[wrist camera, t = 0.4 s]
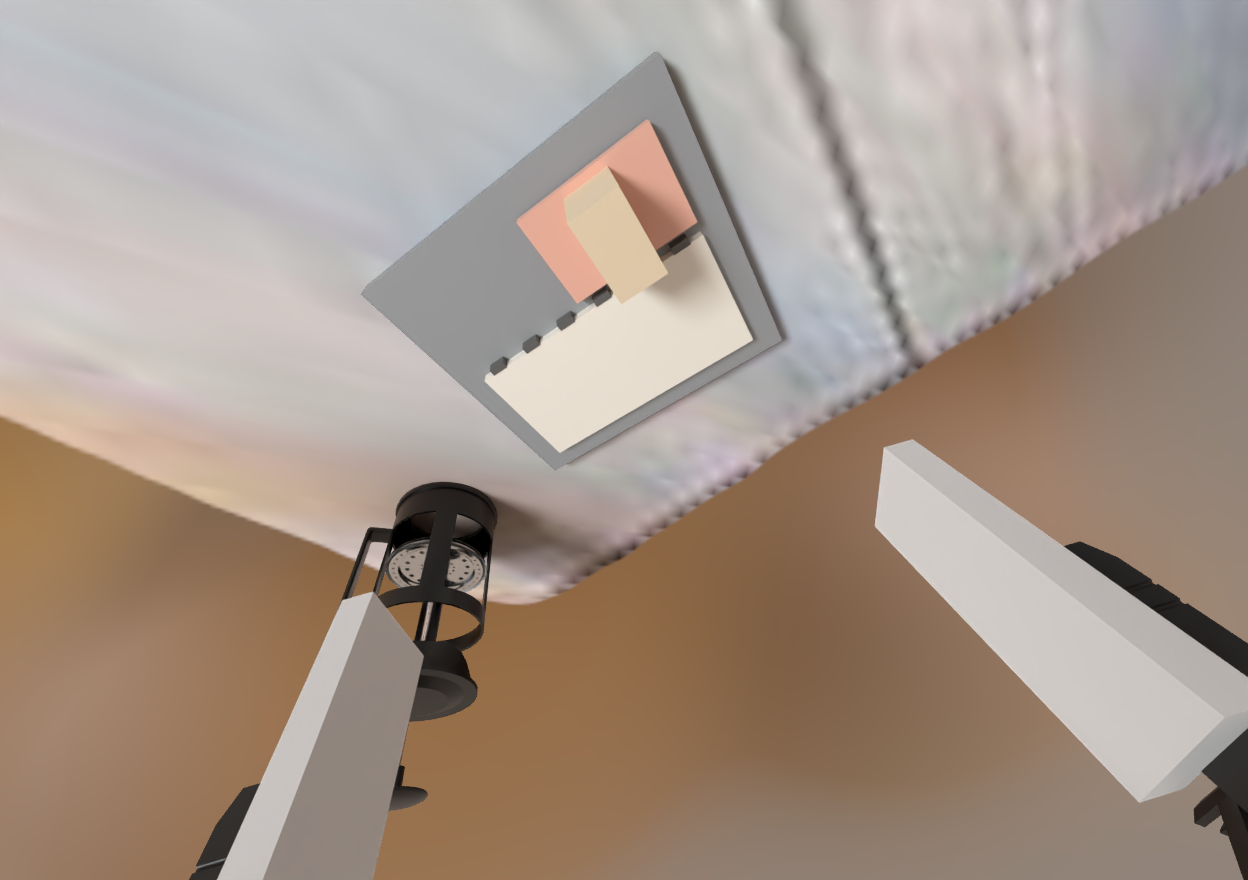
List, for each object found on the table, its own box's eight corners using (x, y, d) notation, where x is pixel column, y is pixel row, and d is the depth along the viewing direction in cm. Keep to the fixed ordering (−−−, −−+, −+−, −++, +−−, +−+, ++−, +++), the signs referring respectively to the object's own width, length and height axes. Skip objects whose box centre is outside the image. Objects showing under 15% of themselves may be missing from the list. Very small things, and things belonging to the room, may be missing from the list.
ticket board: (654, 52, 24) (663, 52, 22) (774, 331, 36) (786, 345, 34) (367, 285, 30) (356, 299, 28) (554, 459, 42) (555, 477, 40)
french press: (511, 489, 44) (491, 775, 26) (496, 548, 49) (472, 818, 32) (376, 472, 40) (251, 792, 23) (377, 538, 46) (276, 836, 28)
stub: (646, 119, 24) (669, 133, 20) (694, 218, 28) (722, 248, 24) (517, 219, 27) (512, 251, 22) (576, 298, 30) (582, 340, 26)
